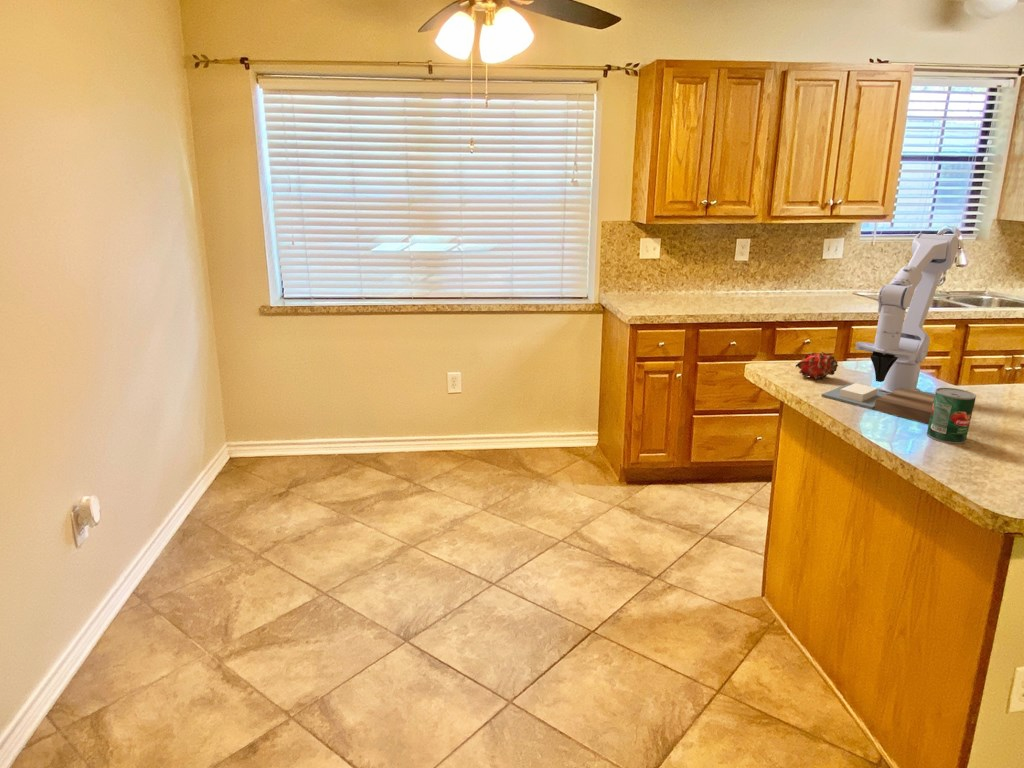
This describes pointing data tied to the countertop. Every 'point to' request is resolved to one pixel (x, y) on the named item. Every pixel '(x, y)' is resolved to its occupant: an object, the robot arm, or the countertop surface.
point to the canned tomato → (951, 415)
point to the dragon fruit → (817, 365)
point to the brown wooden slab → (906, 404)
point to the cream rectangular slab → (858, 392)
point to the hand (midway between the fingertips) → (879, 380)
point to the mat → (867, 403)
